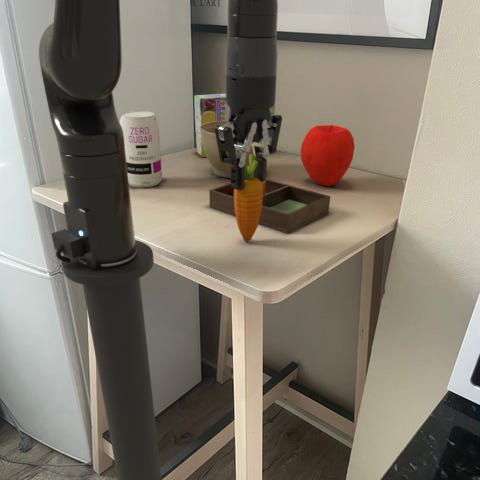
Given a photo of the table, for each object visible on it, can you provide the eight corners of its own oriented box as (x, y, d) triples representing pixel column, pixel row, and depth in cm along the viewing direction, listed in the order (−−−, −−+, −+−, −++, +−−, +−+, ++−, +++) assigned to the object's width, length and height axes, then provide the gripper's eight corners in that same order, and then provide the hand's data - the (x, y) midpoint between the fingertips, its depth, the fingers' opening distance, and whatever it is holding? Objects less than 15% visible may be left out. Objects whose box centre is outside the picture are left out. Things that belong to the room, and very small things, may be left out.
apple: (293, 189, 113) (298, 127, 105) (303, 174, 122) (308, 117, 115) (345, 195, 110) (354, 132, 103) (351, 179, 119) (360, 121, 112)
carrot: (245, 250, 85) (247, 162, 77) (227, 241, 88) (227, 155, 80) (266, 243, 88) (271, 157, 80) (248, 234, 91) (250, 150, 83)
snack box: (265, 146, 145) (267, 90, 136) (273, 151, 140) (276, 93, 132) (195, 152, 138) (193, 93, 130) (201, 158, 134) (200, 97, 125)
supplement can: (150, 175, 120) (144, 109, 112) (169, 183, 115) (164, 115, 107) (120, 181, 116) (111, 113, 107) (138, 190, 110) (131, 119, 102)
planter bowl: (245, 187, 113) (246, 138, 107) (188, 175, 120) (186, 128, 114) (278, 170, 125) (280, 125, 119) (224, 160, 132) (224, 117, 126)
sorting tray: (287, 233, 92) (288, 215, 90) (209, 207, 103) (209, 190, 101) (328, 213, 101) (330, 196, 99) (253, 191, 111) (253, 175, 109)
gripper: (261, 65, 80) (258, 171, 89) (198, 73, 71) (202, 190, 80) (300, 69, 76) (292, 180, 85) (238, 78, 67) (237, 201, 76)
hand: (248, 184), depth 83 cm, fingers closed on carrot, 4 cm apart
